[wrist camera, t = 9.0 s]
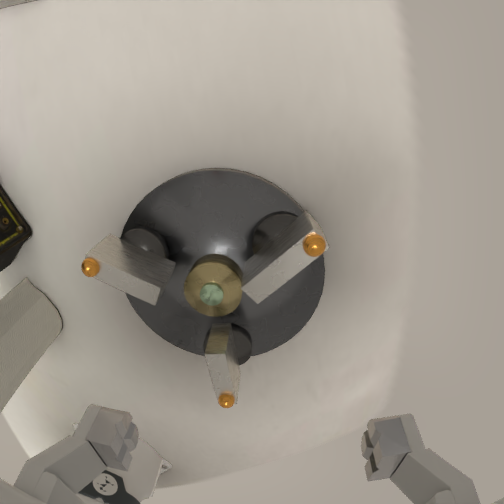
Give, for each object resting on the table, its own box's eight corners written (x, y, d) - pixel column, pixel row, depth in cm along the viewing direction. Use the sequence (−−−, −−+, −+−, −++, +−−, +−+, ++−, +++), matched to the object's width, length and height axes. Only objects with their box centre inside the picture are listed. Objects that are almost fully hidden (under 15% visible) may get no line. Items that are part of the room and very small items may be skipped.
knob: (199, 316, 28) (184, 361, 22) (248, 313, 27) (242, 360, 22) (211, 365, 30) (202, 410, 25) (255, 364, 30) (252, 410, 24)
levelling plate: (268, 369, 32) (268, 398, 28) (110, 307, 30) (93, 330, 26) (358, 223, 25) (373, 241, 22) (157, 135, 23) (137, 139, 19)
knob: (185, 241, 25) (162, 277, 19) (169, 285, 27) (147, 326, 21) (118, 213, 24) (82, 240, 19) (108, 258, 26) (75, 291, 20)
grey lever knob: (271, 280, 26) (271, 323, 20) (233, 243, 25) (223, 280, 19) (330, 233, 24) (347, 267, 18) (292, 191, 23) (300, 214, 17)
